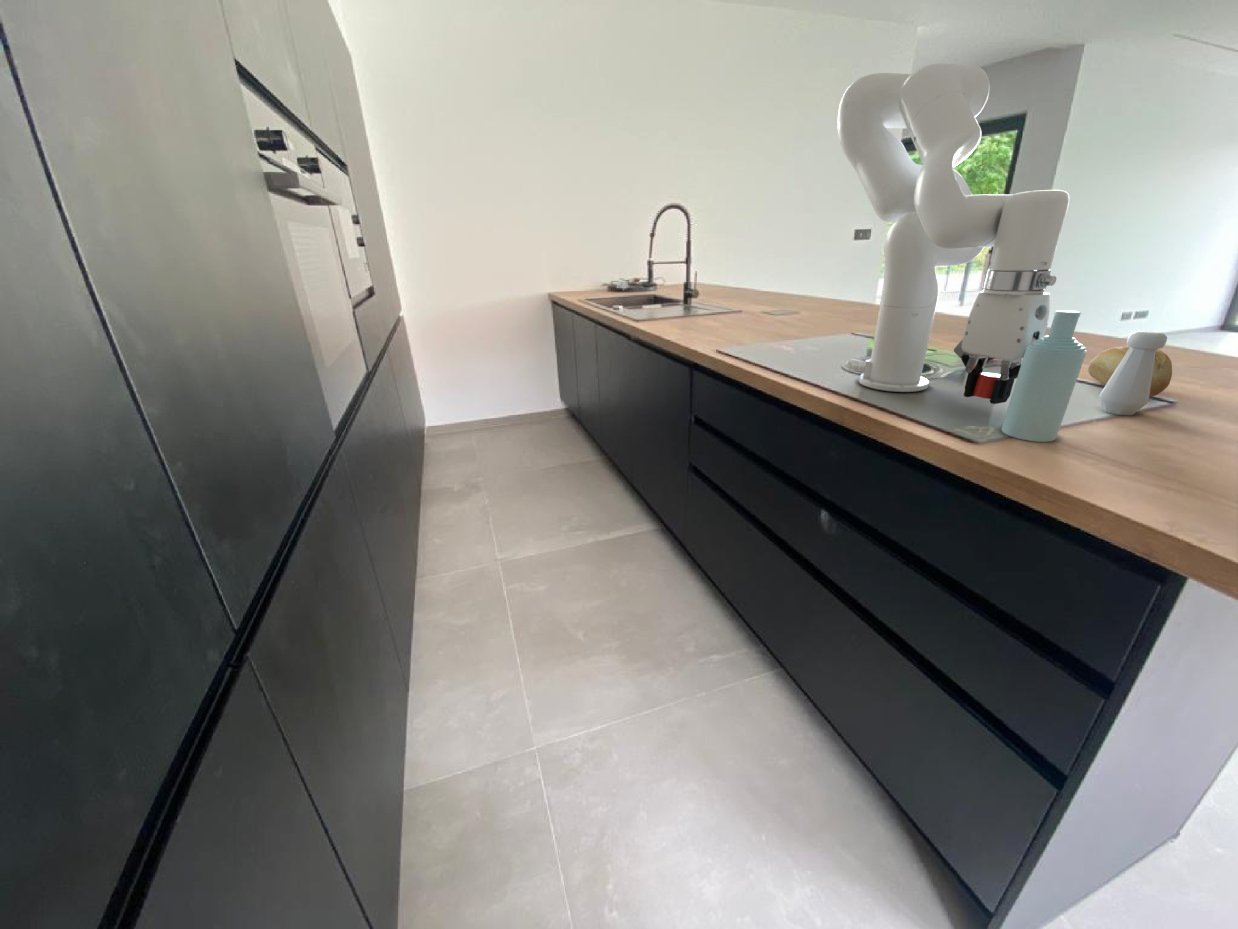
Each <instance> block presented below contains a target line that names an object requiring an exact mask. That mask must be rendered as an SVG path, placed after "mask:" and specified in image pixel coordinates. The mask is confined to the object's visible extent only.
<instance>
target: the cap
mask: <svg viewBox="0 0 1238 929" xmlns="http://www.w3.org/2000/svg"><path fill="white" fill-rule="evenodd" d="M996 379H1000V373H996V372H995V373H994V372H985V373H980V374H979V377H978V379H977V383H976V386H975V389H974V395H975V396H974V397H977V398H981V399H985V400H986V399H987V400H990V398H991V394H992V391H993V387H994V383H995V380H996Z"/></svg>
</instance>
